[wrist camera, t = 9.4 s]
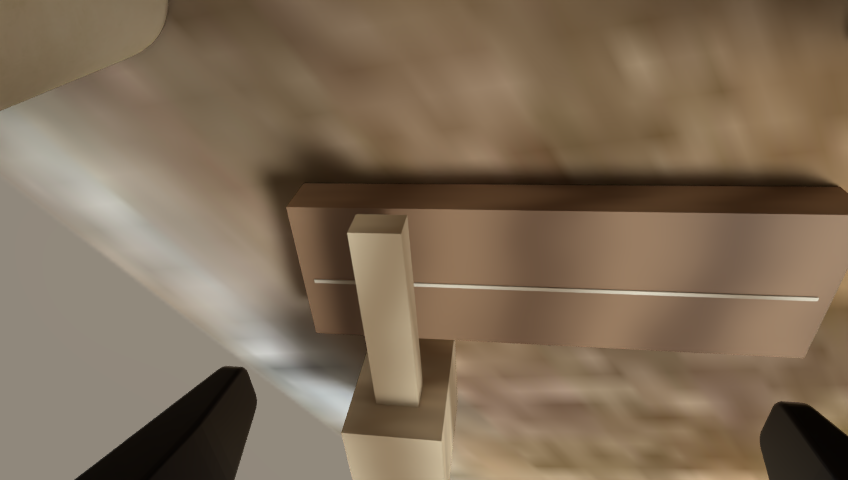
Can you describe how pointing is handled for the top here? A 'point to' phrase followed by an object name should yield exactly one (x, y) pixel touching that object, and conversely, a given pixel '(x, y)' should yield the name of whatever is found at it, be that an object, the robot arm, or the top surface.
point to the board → (591, 262)
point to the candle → (69, 40)
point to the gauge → (397, 366)
